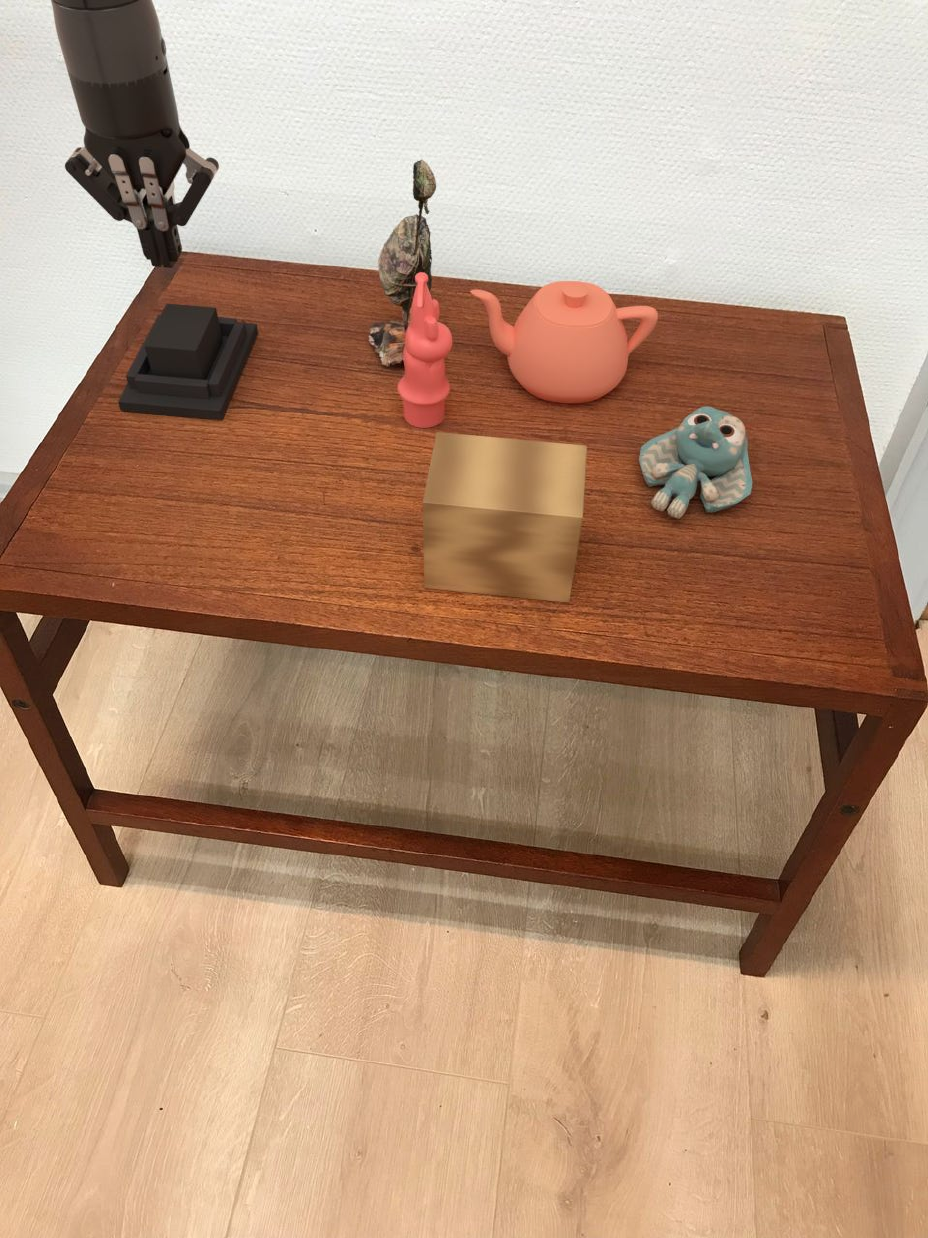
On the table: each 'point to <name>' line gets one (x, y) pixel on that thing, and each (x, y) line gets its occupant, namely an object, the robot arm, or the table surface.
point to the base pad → (191, 393)
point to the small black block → (184, 342)
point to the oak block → (503, 516)
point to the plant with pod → (404, 267)
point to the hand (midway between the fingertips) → (165, 262)
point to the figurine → (425, 361)
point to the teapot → (568, 340)
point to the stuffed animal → (699, 462)
